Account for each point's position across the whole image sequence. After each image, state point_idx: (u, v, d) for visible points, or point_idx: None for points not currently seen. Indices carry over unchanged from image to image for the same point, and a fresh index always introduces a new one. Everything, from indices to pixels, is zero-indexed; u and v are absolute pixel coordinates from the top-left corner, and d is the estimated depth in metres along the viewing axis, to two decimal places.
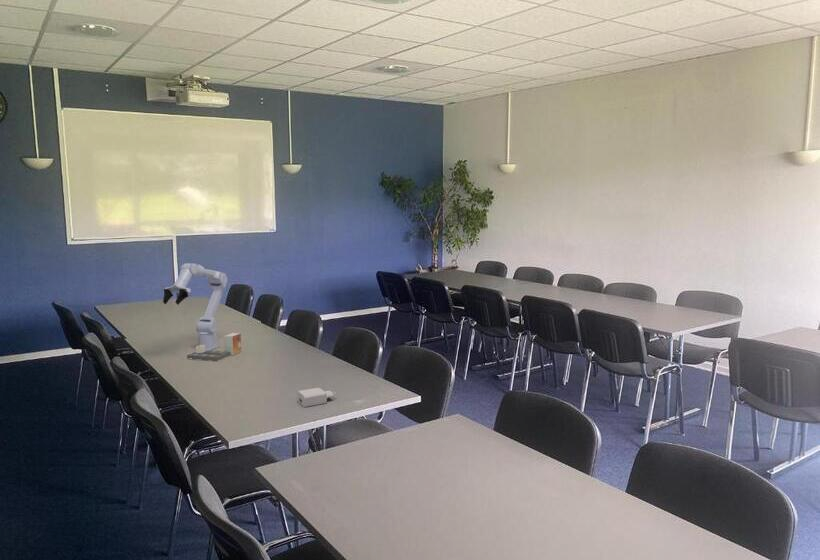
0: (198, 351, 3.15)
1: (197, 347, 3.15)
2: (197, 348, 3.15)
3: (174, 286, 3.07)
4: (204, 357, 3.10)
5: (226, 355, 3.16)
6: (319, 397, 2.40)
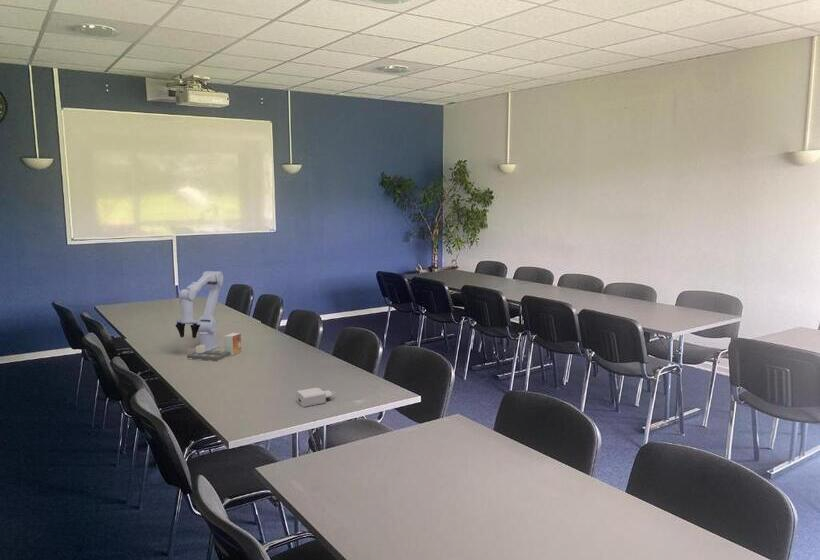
0: (198, 351, 3.15)
1: (197, 347, 3.15)
2: (197, 348, 3.15)
3: None
4: (204, 357, 3.10)
5: (226, 355, 3.16)
6: (318, 397, 2.40)
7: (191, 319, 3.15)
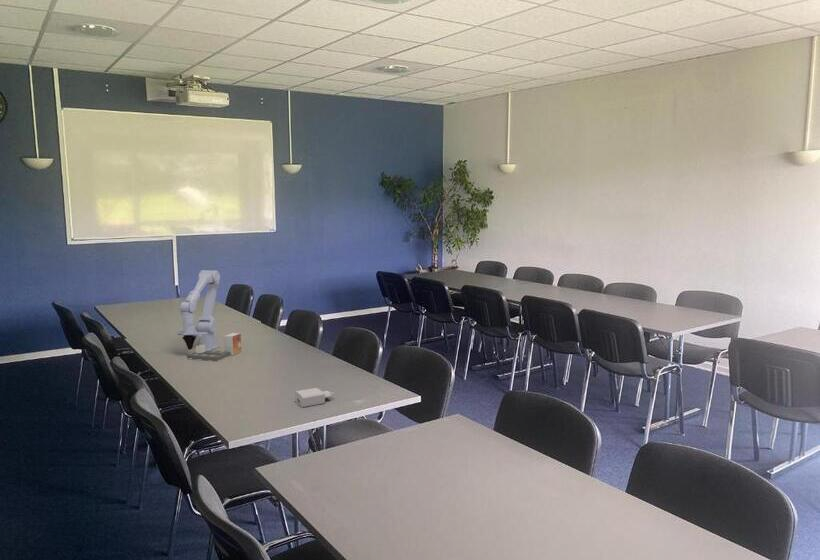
0: (198, 351, 3.15)
1: (197, 347, 3.15)
2: (197, 348, 3.15)
3: (185, 334, 3.15)
4: (204, 357, 3.10)
5: (226, 355, 3.16)
6: (317, 397, 2.40)
7: (192, 331, 3.17)
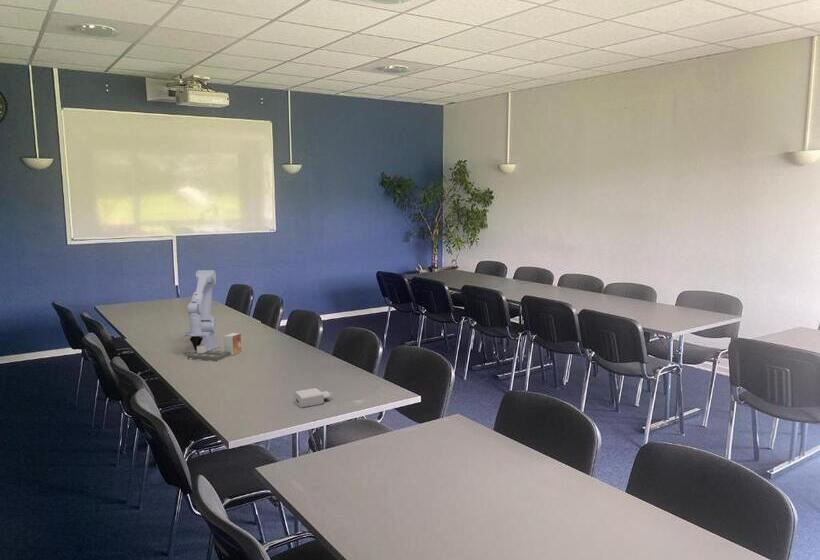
0: (199, 351, 3.15)
1: (198, 347, 3.15)
2: (198, 348, 3.15)
3: (192, 335, 3.14)
4: (204, 357, 3.10)
5: (226, 355, 3.16)
6: (316, 397, 2.40)
7: (199, 332, 3.15)
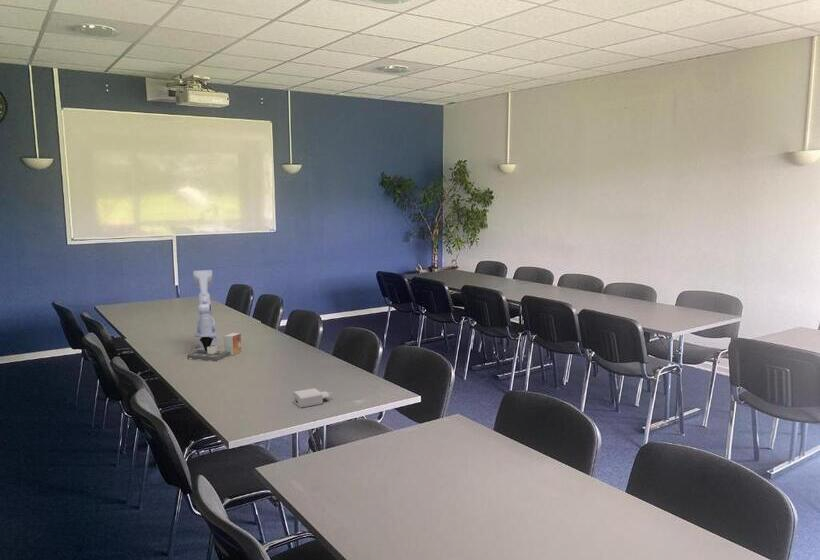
0: (210, 352, 3.13)
1: (209, 348, 3.13)
2: (209, 349, 3.13)
3: (202, 336, 3.12)
4: (204, 357, 3.10)
5: (226, 355, 3.16)
6: (315, 397, 2.39)
7: (210, 333, 3.14)
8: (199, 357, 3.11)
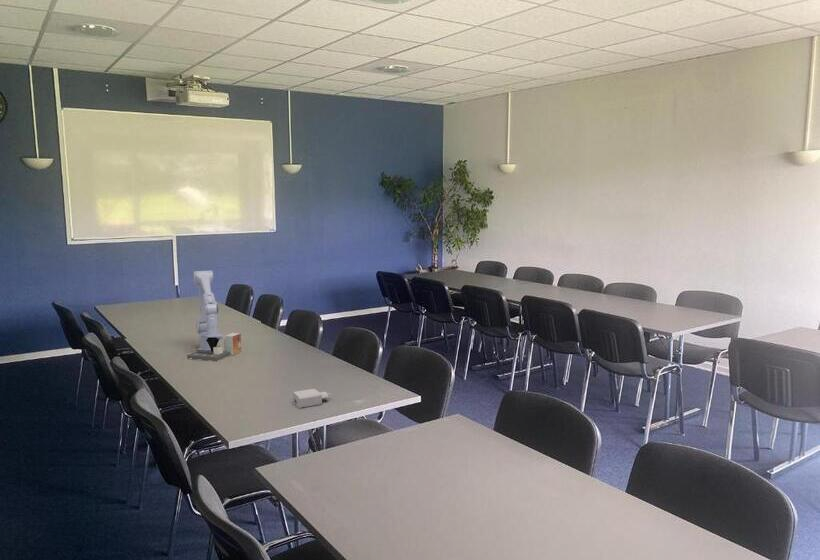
0: (216, 352, 3.12)
1: (215, 348, 3.12)
2: (215, 349, 3.12)
3: (208, 337, 3.11)
4: (204, 357, 3.10)
5: (226, 355, 3.16)
6: (314, 398, 2.39)
7: (216, 333, 3.12)
8: (199, 357, 3.11)
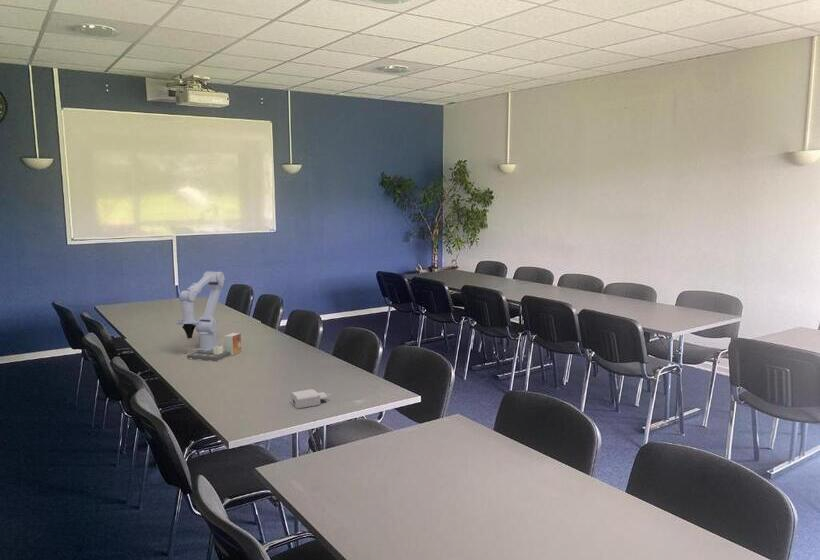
0: (216, 352, 3.12)
1: (215, 348, 3.12)
2: (215, 349, 3.12)
3: (184, 323, 3.15)
4: (204, 357, 3.10)
5: (226, 355, 3.16)
6: (312, 398, 2.38)
7: (192, 320, 3.17)
8: (199, 357, 3.11)
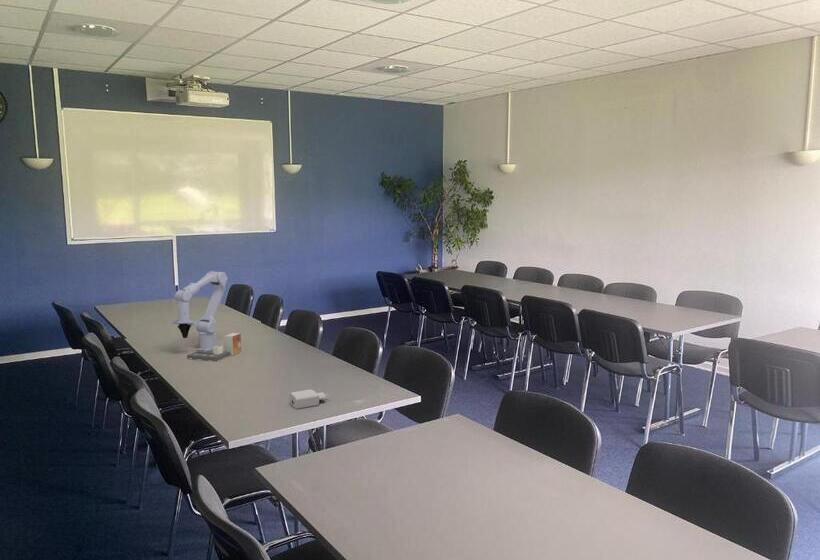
0: (216, 352, 3.12)
1: (215, 348, 3.12)
2: (215, 349, 3.12)
3: None
4: (204, 357, 3.10)
5: (226, 355, 3.16)
6: (311, 399, 2.38)
7: (187, 320, 3.18)
8: (199, 357, 3.11)
